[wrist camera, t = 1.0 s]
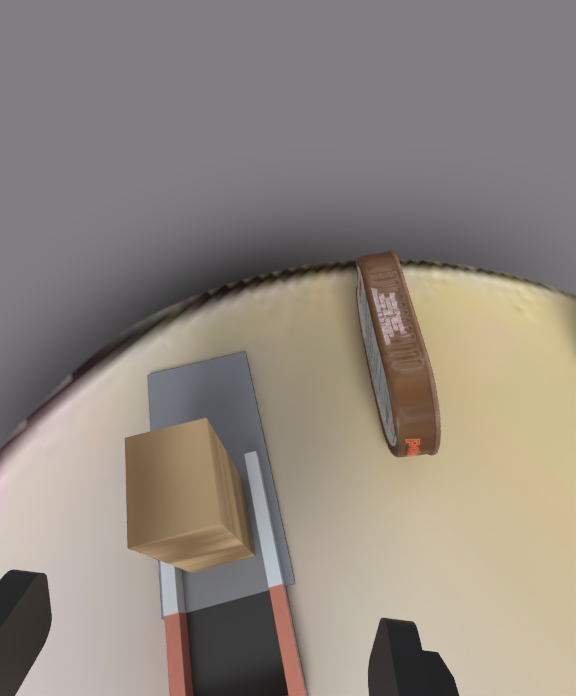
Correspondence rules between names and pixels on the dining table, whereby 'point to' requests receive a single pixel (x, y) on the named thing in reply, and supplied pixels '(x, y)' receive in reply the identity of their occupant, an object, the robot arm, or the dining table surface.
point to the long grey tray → (236, 577)
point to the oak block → (185, 498)
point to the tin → (397, 358)
